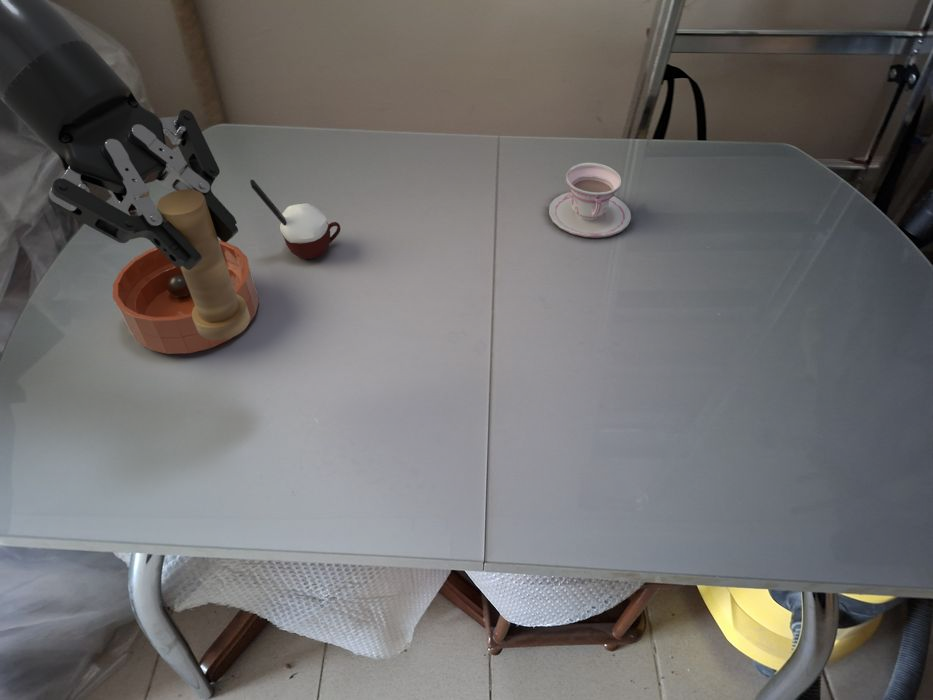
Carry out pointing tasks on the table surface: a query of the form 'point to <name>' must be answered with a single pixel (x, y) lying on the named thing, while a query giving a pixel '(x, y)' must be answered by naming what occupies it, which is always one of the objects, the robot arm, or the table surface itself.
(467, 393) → the table surface
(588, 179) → the teacup
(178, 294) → the bead
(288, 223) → the cocoa
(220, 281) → the wooden flanged peg
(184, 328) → the bowl
